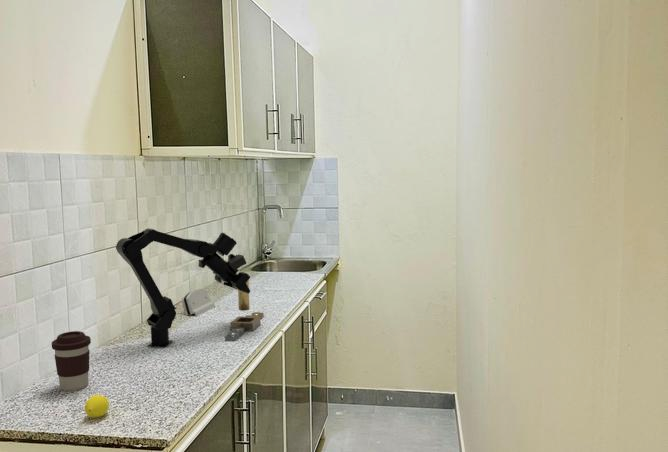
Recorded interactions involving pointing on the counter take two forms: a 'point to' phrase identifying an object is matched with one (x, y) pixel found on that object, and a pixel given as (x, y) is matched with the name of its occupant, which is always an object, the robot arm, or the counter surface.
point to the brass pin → (243, 299)
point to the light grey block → (197, 302)
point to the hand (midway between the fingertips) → (246, 291)
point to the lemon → (96, 406)
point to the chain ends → (243, 325)
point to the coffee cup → (72, 359)
